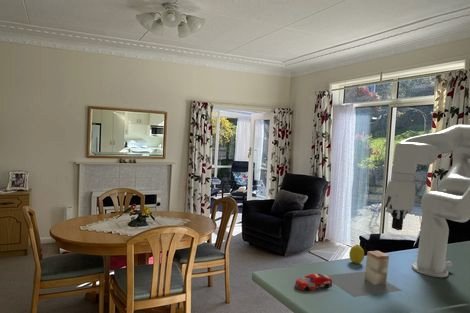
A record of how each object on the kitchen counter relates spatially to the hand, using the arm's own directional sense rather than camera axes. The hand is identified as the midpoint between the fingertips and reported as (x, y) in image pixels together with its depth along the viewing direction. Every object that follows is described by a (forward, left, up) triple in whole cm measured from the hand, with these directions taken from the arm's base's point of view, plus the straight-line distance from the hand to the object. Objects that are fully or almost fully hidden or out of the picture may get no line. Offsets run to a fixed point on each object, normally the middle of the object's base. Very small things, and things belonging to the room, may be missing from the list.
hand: (396, 228), depth 128 cm
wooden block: (+7, 0, -19) cm, 20 cm away
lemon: (+2, -16, -19) cm, 25 cm away
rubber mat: (+13, 0, -19) cm, 23 cm away
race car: (+31, -2, -20) cm, 37 cm away
